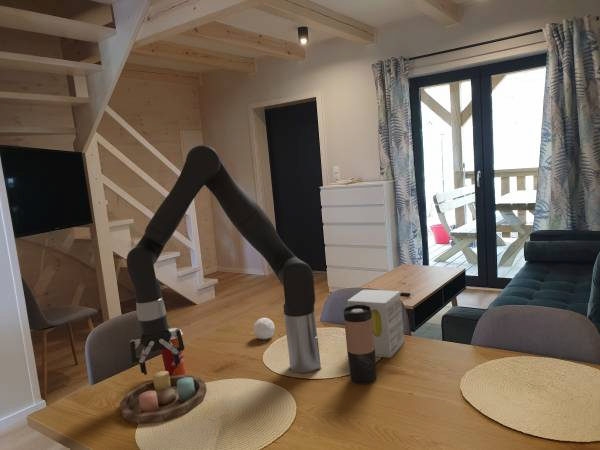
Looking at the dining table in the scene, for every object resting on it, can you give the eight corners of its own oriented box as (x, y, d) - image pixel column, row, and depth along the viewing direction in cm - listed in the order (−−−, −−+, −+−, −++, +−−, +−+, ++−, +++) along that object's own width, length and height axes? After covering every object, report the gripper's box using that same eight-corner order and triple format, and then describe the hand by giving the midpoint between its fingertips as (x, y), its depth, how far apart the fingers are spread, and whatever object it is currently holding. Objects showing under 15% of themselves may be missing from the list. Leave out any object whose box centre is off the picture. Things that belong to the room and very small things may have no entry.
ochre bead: (172, 392, 127) (169, 375, 127) (155, 396, 126) (153, 379, 125) (170, 385, 132) (168, 369, 131) (154, 389, 130) (152, 373, 129)
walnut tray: (212, 381, 134) (211, 371, 134) (196, 421, 112) (195, 410, 112) (138, 389, 134) (137, 379, 133) (109, 431, 112) (107, 420, 112)
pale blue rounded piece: (197, 393, 125) (194, 376, 124) (193, 401, 121) (191, 383, 120) (181, 395, 125) (178, 378, 124) (177, 403, 121) (174, 385, 120)
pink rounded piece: (161, 407, 119) (158, 389, 119) (156, 416, 115) (153, 397, 114) (144, 409, 119) (141, 391, 119) (139, 418, 115) (136, 399, 114)
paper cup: (181, 379, 137) (175, 335, 136) (158, 380, 139) (151, 336, 137) (192, 368, 145) (186, 326, 143) (170, 368, 146) (164, 327, 145)
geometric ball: (260, 345, 166) (250, 326, 169) (279, 334, 167) (269, 315, 170) (258, 342, 159) (247, 322, 162) (278, 330, 160) (267, 311, 163)
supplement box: (351, 353, 143) (345, 300, 141) (367, 338, 154) (363, 288, 152) (390, 358, 136) (386, 302, 134) (405, 342, 147) (400, 290, 145)
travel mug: (380, 373, 127) (374, 305, 125) (373, 386, 120) (366, 314, 118) (354, 371, 130) (348, 304, 128) (346, 383, 123) (339, 313, 121)
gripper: (125, 324, 120) (135, 381, 122) (179, 312, 125) (188, 367, 127) (125, 317, 127) (135, 371, 129) (176, 306, 132) (185, 358, 134)
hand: (161, 369), depth 128 cm, fingers open, 8 cm apart
